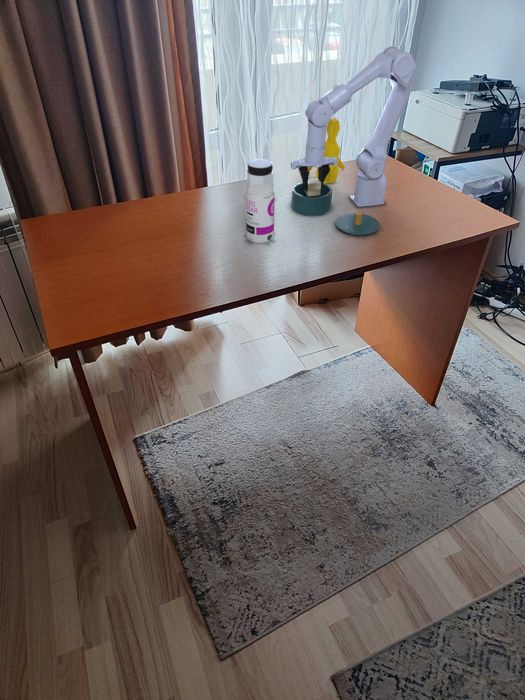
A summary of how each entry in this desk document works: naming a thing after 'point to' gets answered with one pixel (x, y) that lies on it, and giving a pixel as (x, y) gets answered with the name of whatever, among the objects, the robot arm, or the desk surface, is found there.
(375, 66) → the robot arm
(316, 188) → the block
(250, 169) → the jar
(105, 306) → the desk surface
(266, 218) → the supplement can
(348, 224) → the lid
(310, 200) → the tin
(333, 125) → the figure statuette
